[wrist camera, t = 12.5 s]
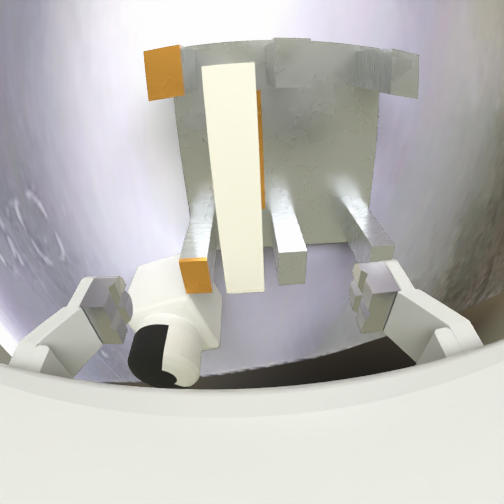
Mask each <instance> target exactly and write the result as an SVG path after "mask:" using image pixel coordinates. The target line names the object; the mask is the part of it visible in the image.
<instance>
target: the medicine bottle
mask: <svg viewBox="0 0 504 504" xmlns="http://www.w3.org/2000/svg"><path fill="white" fill-rule="evenodd" d="M180 255H181V253H179V254H176V255H173V256H169V257H166V258H163V259H160V260H156V261H153V262H150V263H147V264H143V265H140V266H139V267H138V268H137V270H136V273H135V275H134V278H133V280H132V283H131V285H130V288H129V290H128V294H129V295H130V297H131V299H132V304H133V315H132V318H131V321H129V322H128V325H129V326H130V327H131V328H132V329H133V331H134V332H135V336H134V339H133V343H132V346H131V350H130V354H129V357H128V366H129V368H130V370H131V371H132V373H133V374H134V375H135V376H136V377H137V378H138V379H139V380H141V381H142V382H144V383H146V384H149V385H151V386H154V387H157V388H166V389H184V388H187V387H190V386H191V385H193V384H194V383H195V382H196V381H197V380H198V378H199V374H200V363H201V352H202V351H204V350H209V349H215V348H218V347H219V346H220V334H221V314H222V296H221V294H220V292H219V290H218V288H217V286H216V284H215V282H214V281H213V291H212V293H195V294H186V291H185V287H184V283H183V279H182V275H181V270H180V266H179V258H180Z"/></svg>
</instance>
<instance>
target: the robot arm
mask: <svg viewBox="0 0 504 504" xmlns="http://www.w3.org/2000/svg"><path fill="white" fill-rule="evenodd" d="M352 274H353V276H354V278H355V279H354V280H353V281H352V282H351V283H350V288H349V300H350V305H351V308H352V310H354V311H355V312H356V313H357V316H356V321H357V324H358V327H359V330H360V333H370V332H378V331H383V332H384V333H385V334H386V335H387V336H388V337H390V339H391V340H393V341H394V342H395V343H396V344H397V345H398V346H399V347H400V348H401V349H402V350H403V351H405V352H406V353H407V354H408V355H409V356H410V357H411V358H412V359H413V360H414V361H415V362H416V363H417V364H416V365H415V366H412V367H408V368H403V369H399V370H394V371H389V372H384V373H379V374H374V375H368V376H363V377H357V378H350V379H344V380H337V381H330V382H322V383H314V384H306V385H296V386H285V387H271V388H254V389H221V390H198V389H196V390H195V389H166V388H148V387H135V386H124V385H114V384H106V383H98V382H90V381H83V380H77V379H74V378H73V377H74V376H75V375H76V374H77V373H78V372H79V371H80V370H81V368H82V367H83V366H84V365H85V364H86V363H87V362H88V361H89V360H90V358H91V357H92V356H93V355H94V354H95V353H96V352H97V351H98V350H99V349H100V347H101V346H102V345H103V344H123V343H124V340H125V336H126V333H127V327H126V324H127V323H128V322H129V321H131V318H132V315H133V304H132V299H131V297H130V295H129V294H128V293H127V292H126V291H125V290H124V289H125V286H126V284H125V282H124V280H123V278H122V277H120V276H102V277H85V278H83V279H82V280H81V282H80V284H79V286H78V287H77V289H76V291H75V293H74V295H73V296H72V298H71V300H70V302H69V304H68V306H67V307H63V308H62V309H60V310H59V311H58V312H56V313H55V314H54V315H52V316H51V317H50V318H48V319H47V320H46V321H45V322H43V323H42V324H41V325H39V326H38V327H37V328H36V329H34V330H33V331H32V332H31V333H29V334H28V335H27V336H26V337H24V338H23V339H22V340H21V341H20V342H19V344H18V346H17V348H16V350H15V352H14V354H13V356H12V359H11V360H10V363H9V365H5V364H2V363H0V504H504V339H502V340H499V341H496V342H494V343H491V344H488V345H485V346H484V345H483V344H482V342H481V340H480V338H479V337H478V335H477V333H476V331H475V330H474V328H473V326H472V325H471V323H470V321H469V320H467V319H466V318H464V317H463V316H461V315H459V314H458V313H456V312H455V311H453V310H452V309H450V308H448V307H447V306H445V305H444V304H442V303H441V302H439V301H437V300H436V299H434V298H432V297H431V296H429V295H428V294H426V293H424V292H423V291H421V290H419V289H414V287H413V285H412V284H411V282H410V280H409V279H408V277H407V276H406V274H405V272H404V271H403V269H402V268H401V266H400V264H399V263H398V261H396V260H395V259H394V260H385V261H379V262H367V263H355V265H354V267H353V272H352Z"/></svg>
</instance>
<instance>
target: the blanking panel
mask: <svg viewBox="0 0 504 504" xmlns="http://www.w3.org/2000/svg"><path fill="white" fill-rule="evenodd" d="M201 68H202V80H203V92H204V103H205V114H206V124H207V134H208V144H209V154H210V163H211V172H212V181H213V190H214V198H215V207H216V215H217V223H218V231H219V239H220V246H221V254H222V261H223V269H224V276H225V283H226V290H227V294H229V293H247V292H263V291H264V263H263V235H262V209H261V184H260V161H259V139H258V118H257V97H256V78H255V62H250V63H233V64H221V65H211V66H202V67H201Z"/></svg>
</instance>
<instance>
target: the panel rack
mask: <svg viewBox="0 0 504 504" xmlns="http://www.w3.org/2000/svg"><path fill="white" fill-rule="evenodd" d="M144 62H145V72H146V81H147V90H148V98H149V101H152V100H158V99H164V98H170V97H174V104H175V113H176V121H177V129H178V137H179V145H180V152H181V159H182V166H183V173H184V179H185V186H186V192H187V199H188V205H189V211H190V217H191V219H190V222H189V226H188V229H187V233H186V236H185V240H184V244H183V247H182V251H181V255H180V258H179V266H180V270H181V275H182V279H183V283H184V287H185V291H186V294H195V293H212V291H213V280H214V270H215V261H216V251H217V250H221V246H220V239H219V231H218V223H217V215H216V207H215V198H214V190H213V181H212V172H211V163H210V154H209V144H208V134H207V124H206V114H205V103H204V92H203V80H202V68H201V67H202V66H211V65H221V64H233V63H250V62H255V78H256V97H257V118H258V139H259V161H260V184H261V209H262V235H263V247H270V246H272V247H273V253H274V259H275V265H276V271H277V278H278V284H279V285H289V284H303V283H305V274H306V260H307V249H306V246H305V244H320V243H337V242H347V243H348V244H349V246H350V248H351V250H352V252H353V254H354V256H355V258H356V260H357V262H358V263H367V262H379V261H385V260H392V257H393V253H394V249H395V244H394V243H393V241H392V240H391V239H390V237H389V236H388V234H387V233H386V232H385V230H384V229H383V228H382V226H381V225H380V223H379V222H378V221H377V219H376V218H375V217H374V215H373V214H372V213H371V212H370V210H369V202H370V194H371V187H372V179H373V170H374V160H375V150H376V138H377V125H378V107H379V92H383V93H387V94H391V95H397V96H404V97H410V98H416V99H418V86H419V55H418V54H414V53H409V52H405V51H400V50H395V49H379V48H373V47H366V46H359V45H351V44H343V43H333V42H320V41H310V39H307V38H273V39H272V40H253V41H234V42H222V43H212V44H203V45H195V46H188V47H184V46H181V45H175V46H169V47H164V48H158V49H153V50H149V51H144Z"/></svg>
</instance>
